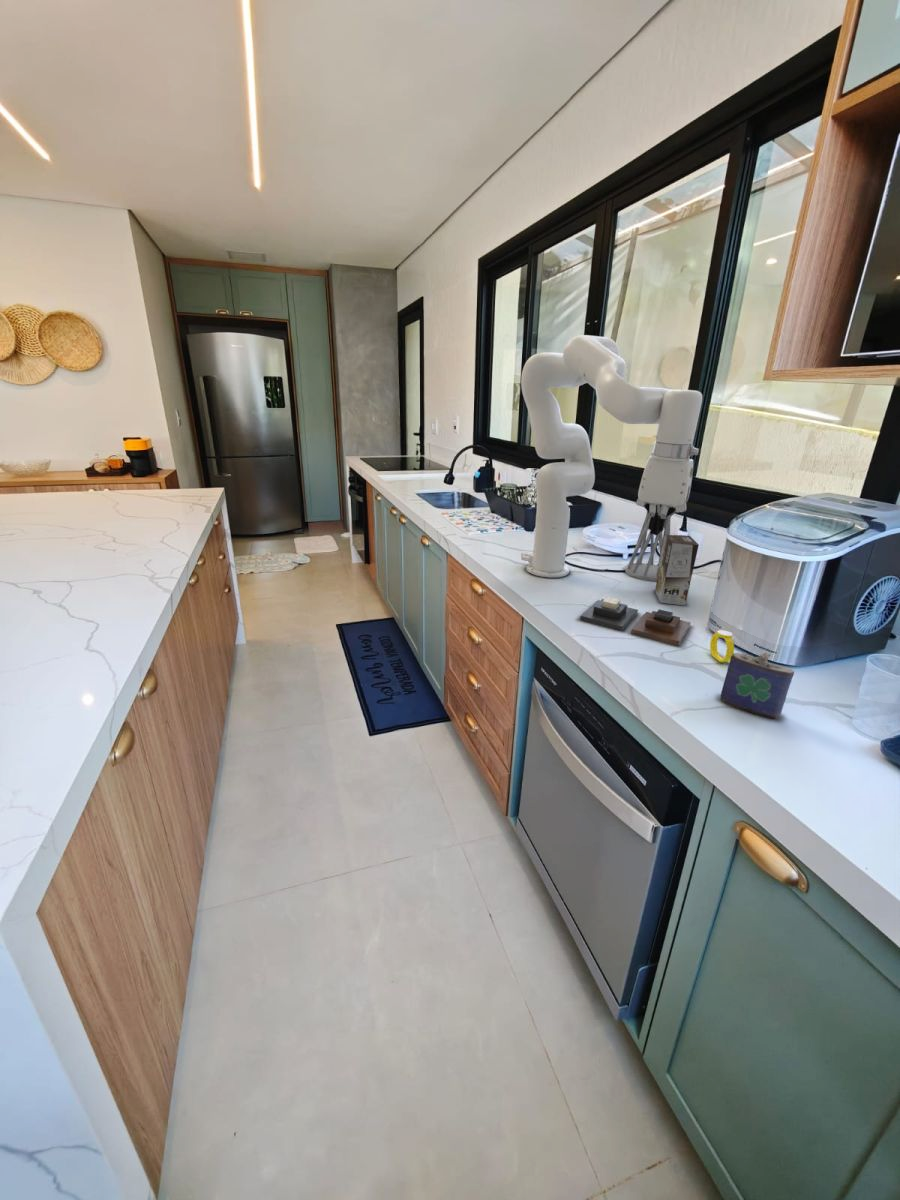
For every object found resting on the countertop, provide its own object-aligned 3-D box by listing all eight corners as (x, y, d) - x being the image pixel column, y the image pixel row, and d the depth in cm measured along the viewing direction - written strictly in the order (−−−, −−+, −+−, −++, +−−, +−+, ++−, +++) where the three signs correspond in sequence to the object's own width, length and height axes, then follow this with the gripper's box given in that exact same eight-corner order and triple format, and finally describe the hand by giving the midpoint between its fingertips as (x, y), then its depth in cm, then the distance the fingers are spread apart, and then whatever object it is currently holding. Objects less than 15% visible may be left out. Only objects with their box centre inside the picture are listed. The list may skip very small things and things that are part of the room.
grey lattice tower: (675, 571, 153) (699, 452, 140) (668, 584, 143) (694, 456, 129) (629, 563, 160) (648, 448, 146) (619, 575, 149) (639, 452, 135)
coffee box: (686, 605, 128) (699, 544, 122) (659, 603, 129) (671, 542, 123) (678, 592, 137) (691, 535, 130) (653, 590, 138) (664, 533, 131)
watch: (733, 666, 100) (741, 639, 98) (720, 666, 100) (727, 640, 97) (717, 652, 105) (723, 626, 103) (704, 652, 105) (710, 626, 103)
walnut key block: (631, 633, 113) (633, 621, 111) (645, 616, 122) (647, 604, 121) (678, 646, 107) (681, 633, 106) (689, 626, 117) (692, 615, 115)
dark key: (653, 620, 113) (655, 613, 113) (657, 616, 116) (658, 609, 115) (668, 624, 112) (670, 617, 111) (672, 619, 114) (673, 612, 113)
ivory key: (601, 607, 119) (602, 601, 119) (606, 603, 122) (607, 596, 121) (615, 611, 118) (616, 604, 117) (619, 606, 120) (620, 600, 120)
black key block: (579, 620, 119) (581, 608, 118) (597, 604, 128) (598, 593, 127) (622, 631, 114) (624, 619, 112) (637, 614, 123) (639, 602, 122)
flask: (780, 714, 85) (798, 658, 81) (778, 722, 83) (796, 665, 79) (721, 694, 90) (735, 641, 86) (717, 702, 88) (731, 647, 84)
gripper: (712, 453, 108) (692, 536, 115) (641, 446, 115) (627, 524, 123) (705, 457, 102) (685, 544, 109) (631, 449, 110) (617, 531, 117)
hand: (655, 533), depth 116 cm, fingers closed
